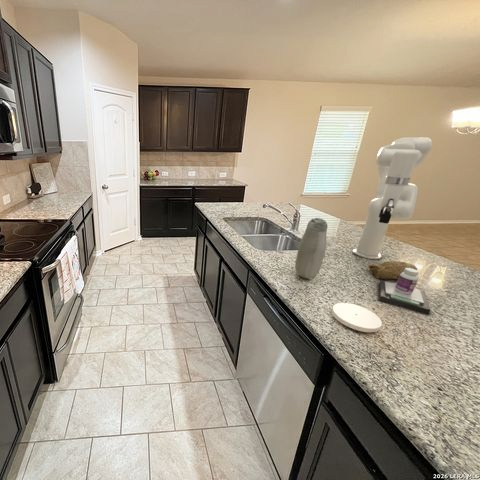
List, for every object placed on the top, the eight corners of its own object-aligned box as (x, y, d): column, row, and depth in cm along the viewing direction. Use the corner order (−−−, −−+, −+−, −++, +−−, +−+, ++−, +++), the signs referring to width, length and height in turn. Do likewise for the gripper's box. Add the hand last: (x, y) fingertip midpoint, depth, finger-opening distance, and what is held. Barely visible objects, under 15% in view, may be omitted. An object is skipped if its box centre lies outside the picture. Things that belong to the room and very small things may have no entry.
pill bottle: (410, 296, 98) (420, 274, 95) (393, 290, 102) (401, 269, 98) (412, 291, 101) (422, 270, 98) (395, 286, 105) (403, 265, 102)
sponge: (381, 284, 114) (431, 279, 110) (380, 268, 112) (431, 262, 109) (362, 275, 126) (407, 270, 123) (361, 260, 125) (406, 254, 122)
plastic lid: (366, 311, 94) (368, 305, 93) (389, 338, 81) (391, 331, 80) (324, 306, 96) (326, 300, 96) (340, 331, 84) (342, 324, 83)
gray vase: (320, 282, 112) (337, 223, 102) (296, 280, 114) (310, 221, 104) (313, 272, 121) (327, 216, 111) (290, 270, 123) (302, 215, 113)
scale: (378, 284, 112) (380, 278, 111) (422, 295, 103) (424, 289, 102) (379, 300, 100) (381, 294, 99) (428, 315, 92) (431, 308, 91)
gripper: (384, 178, 114) (372, 214, 121) (385, 182, 102) (372, 223, 108) (406, 179, 110) (393, 217, 116) (410, 184, 97) (395, 226, 104)
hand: (383, 220), depth 112 cm, fingers open, 9 cm apart
